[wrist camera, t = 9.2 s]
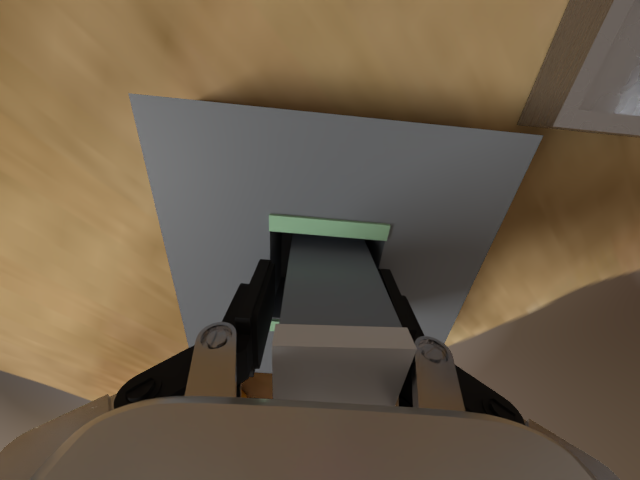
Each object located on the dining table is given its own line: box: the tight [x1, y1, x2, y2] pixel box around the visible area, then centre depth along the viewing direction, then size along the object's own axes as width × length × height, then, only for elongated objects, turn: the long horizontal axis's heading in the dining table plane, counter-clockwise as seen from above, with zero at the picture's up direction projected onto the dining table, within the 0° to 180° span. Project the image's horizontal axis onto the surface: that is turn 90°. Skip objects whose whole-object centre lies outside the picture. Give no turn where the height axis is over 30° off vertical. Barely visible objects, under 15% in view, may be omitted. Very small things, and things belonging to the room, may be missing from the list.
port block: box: [129, 93, 543, 373], centre depth 15 cm, size 16×16×5 cm
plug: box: [272, 233, 417, 406], centre depth 12 cm, size 4×4×10 cm
